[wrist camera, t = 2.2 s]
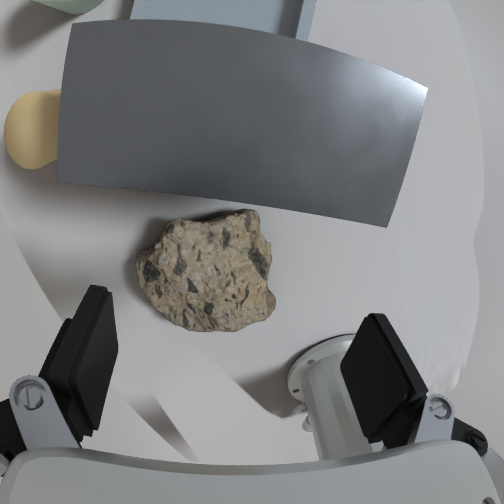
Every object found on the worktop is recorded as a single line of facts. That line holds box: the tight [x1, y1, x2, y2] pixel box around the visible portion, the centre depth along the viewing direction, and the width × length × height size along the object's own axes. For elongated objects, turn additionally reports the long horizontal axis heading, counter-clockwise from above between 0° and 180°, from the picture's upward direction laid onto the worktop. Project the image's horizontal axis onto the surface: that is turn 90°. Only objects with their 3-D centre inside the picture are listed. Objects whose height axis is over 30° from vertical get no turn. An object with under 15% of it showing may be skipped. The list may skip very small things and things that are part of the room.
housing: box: [57, 19, 428, 228], centre depth 14 cm, size 8×14×12 cm, turn 79°
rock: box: [136, 209, 276, 332], centre depth 24 cm, size 11×11×4 cm
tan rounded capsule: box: [4, 90, 61, 170], centre depth 16 cm, size 5×5×6 cm
